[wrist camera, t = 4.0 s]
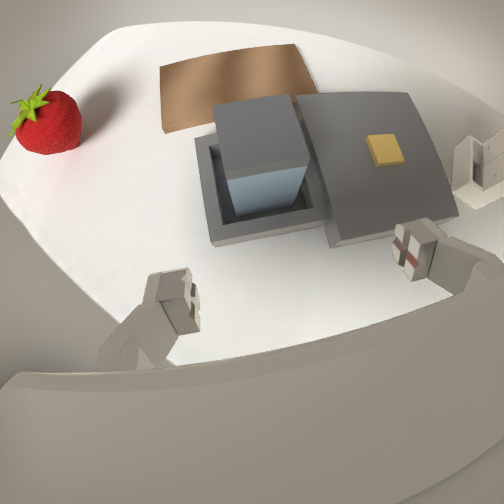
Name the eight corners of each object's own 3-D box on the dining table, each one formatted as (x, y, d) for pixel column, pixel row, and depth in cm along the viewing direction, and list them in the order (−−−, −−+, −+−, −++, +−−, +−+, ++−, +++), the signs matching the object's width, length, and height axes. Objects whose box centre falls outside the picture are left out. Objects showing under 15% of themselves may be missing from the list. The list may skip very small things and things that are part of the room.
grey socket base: (396, 110, 23) (410, 89, 19) (440, 224, 21) (463, 213, 18) (196, 133, 23) (187, 109, 19) (219, 271, 21) (211, 265, 17)
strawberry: (87, 179, 23) (20, 128, 13) (41, 168, 23) (-19, 127, 13) (113, 125, 23) (64, 61, 13) (65, 120, 24) (16, 70, 14)
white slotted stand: (489, 126, 20) (535, 123, 12) (463, 204, 24) (506, 224, 16) (465, 108, 21) (509, 98, 13) (439, 189, 24) (480, 204, 16)
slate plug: (280, 156, 22) (288, 93, 14) (293, 205, 22) (310, 157, 14) (226, 165, 22) (212, 105, 14) (236, 216, 22) (224, 172, 14)
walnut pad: (293, 50, 24) (294, 44, 23) (318, 106, 23) (320, 100, 22) (162, 73, 24) (159, 67, 23) (165, 133, 23) (162, 127, 22)
